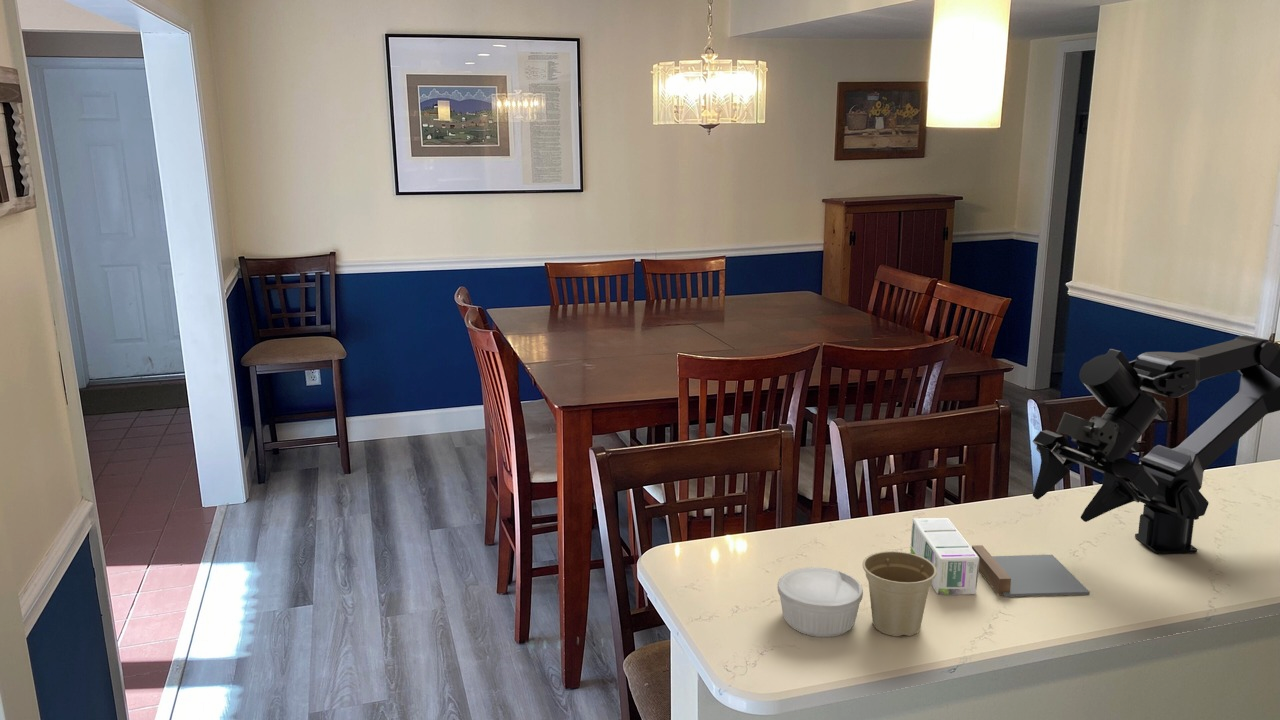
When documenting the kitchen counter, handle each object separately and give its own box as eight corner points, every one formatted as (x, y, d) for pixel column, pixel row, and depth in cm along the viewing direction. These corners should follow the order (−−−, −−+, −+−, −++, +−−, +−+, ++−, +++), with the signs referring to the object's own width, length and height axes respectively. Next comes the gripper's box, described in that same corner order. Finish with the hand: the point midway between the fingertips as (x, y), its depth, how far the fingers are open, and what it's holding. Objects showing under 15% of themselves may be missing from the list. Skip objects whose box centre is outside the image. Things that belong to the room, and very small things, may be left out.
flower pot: (935, 613, 125) (937, 555, 123) (932, 649, 116) (935, 587, 114) (864, 604, 128) (866, 547, 126) (857, 638, 119) (858, 577, 117)
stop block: (981, 560, 140) (982, 545, 139) (1009, 594, 129) (1011, 578, 128) (971, 560, 140) (971, 545, 139) (998, 595, 129) (999, 578, 128)
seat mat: (1052, 556, 140) (1052, 554, 140) (1089, 594, 128) (1089, 591, 128) (973, 559, 140) (974, 556, 140) (1004, 596, 129) (1004, 594, 128)
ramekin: (877, 634, 120) (878, 597, 119) (800, 649, 117) (800, 611, 116) (836, 595, 131) (837, 561, 129) (764, 608, 128) (764, 573, 126)
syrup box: (911, 517, 142) (938, 558, 128) (949, 516, 142) (980, 558, 128) (909, 551, 144) (935, 595, 129) (947, 550, 143) (978, 595, 129)
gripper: (1045, 379, 140) (984, 458, 139) (1149, 410, 123) (1080, 501, 122) (1082, 420, 144) (1023, 498, 143) (1187, 456, 127) (1121, 544, 126)
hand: (1058, 508), depth 134 cm, fingers open, 9 cm apart
